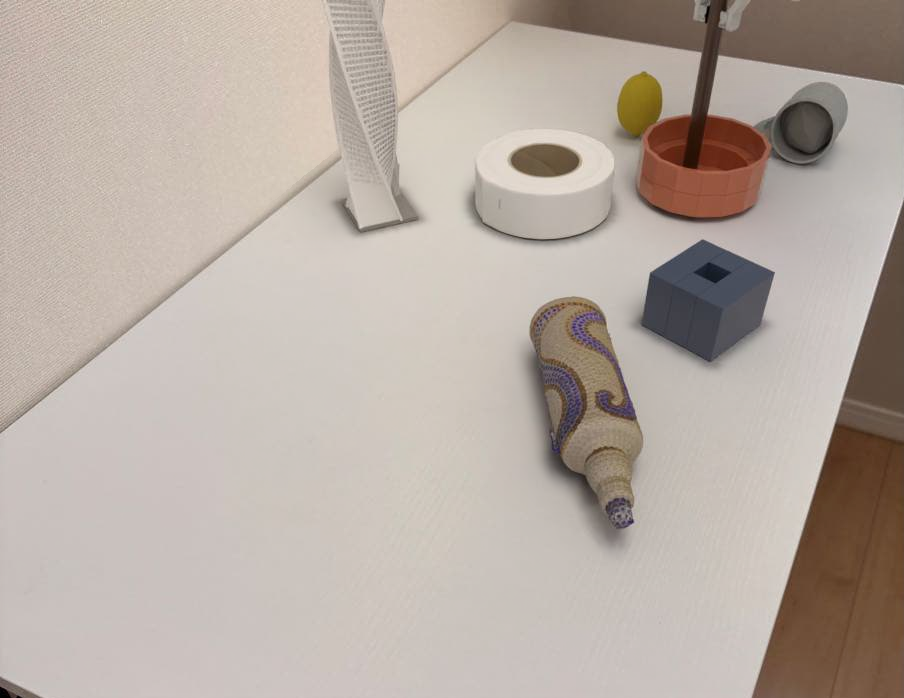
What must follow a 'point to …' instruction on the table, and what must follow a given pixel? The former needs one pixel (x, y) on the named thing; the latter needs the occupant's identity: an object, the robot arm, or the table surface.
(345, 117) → the skyscraper
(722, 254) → the stand
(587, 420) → the decorative bottle
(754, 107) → the table surface
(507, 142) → the tape roll
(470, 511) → the table surface
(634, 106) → the lemon
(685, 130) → the bowl
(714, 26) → the stick
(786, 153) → the ceramic mug
